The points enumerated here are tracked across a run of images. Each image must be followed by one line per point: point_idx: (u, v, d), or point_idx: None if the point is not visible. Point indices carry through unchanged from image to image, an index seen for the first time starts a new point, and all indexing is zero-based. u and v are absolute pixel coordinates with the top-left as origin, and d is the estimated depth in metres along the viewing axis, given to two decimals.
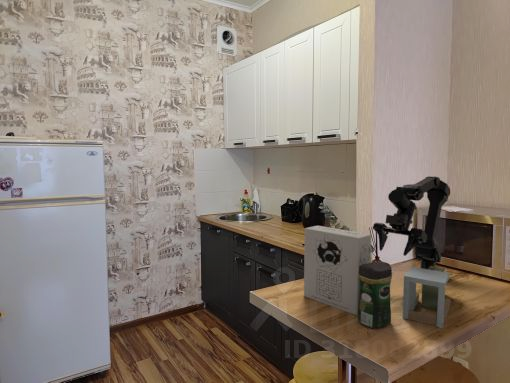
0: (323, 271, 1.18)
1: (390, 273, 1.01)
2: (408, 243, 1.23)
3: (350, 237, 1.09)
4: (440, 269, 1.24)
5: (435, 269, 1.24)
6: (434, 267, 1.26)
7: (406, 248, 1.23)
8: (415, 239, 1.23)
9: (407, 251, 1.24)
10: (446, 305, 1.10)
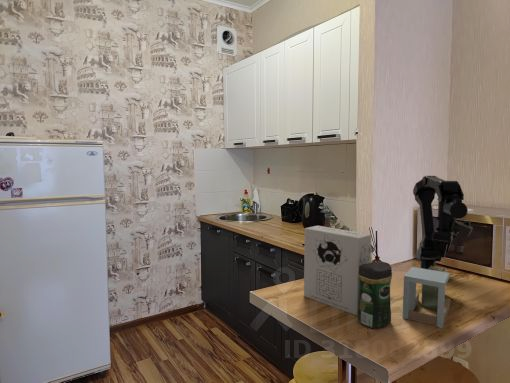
0: (323, 271, 1.18)
1: (390, 273, 1.01)
2: None
3: (350, 237, 1.09)
4: (440, 269, 1.24)
5: (435, 269, 1.24)
6: (434, 267, 1.26)
7: (449, 246, 1.34)
8: None
9: None
10: (446, 305, 1.10)
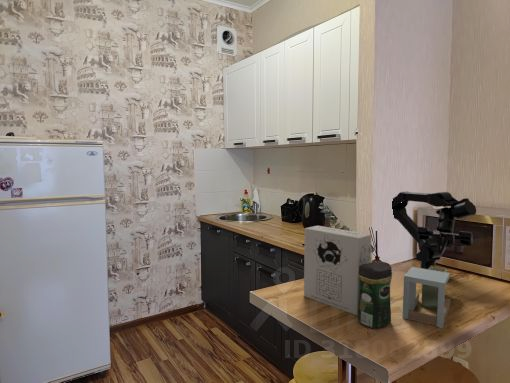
0: (323, 271, 1.18)
1: (390, 273, 1.01)
2: None
3: (350, 237, 1.09)
4: (440, 269, 1.24)
5: (435, 269, 1.24)
6: (434, 267, 1.26)
7: None
8: (435, 240, 1.35)
9: (438, 250, 1.32)
10: (446, 305, 1.10)
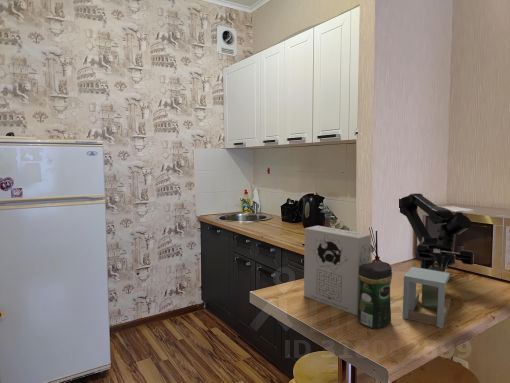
0: (323, 271, 1.18)
1: (390, 273, 1.01)
2: None
3: (350, 237, 1.09)
4: (440, 269, 1.24)
5: (435, 269, 1.24)
6: (434, 267, 1.26)
7: None
8: (435, 258, 1.32)
9: None
10: (446, 305, 1.10)
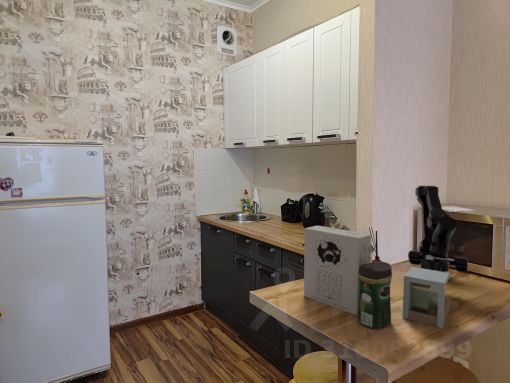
0: (323, 271, 1.18)
1: (390, 273, 1.01)
2: None
3: (350, 237, 1.09)
4: None
5: None
6: None
7: None
8: (428, 265, 1.25)
9: None
10: (446, 305, 1.10)
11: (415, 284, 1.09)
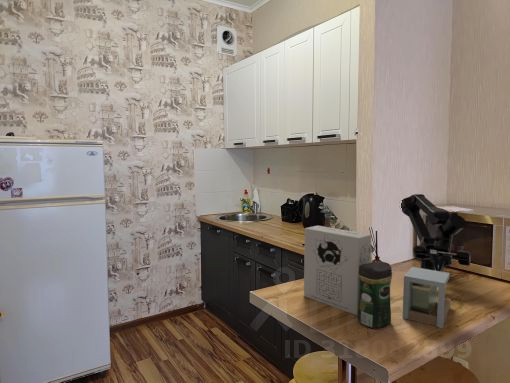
0: (323, 271, 1.18)
1: (390, 273, 1.01)
2: None
3: (350, 237, 1.09)
4: None
5: None
6: None
7: None
8: (432, 259, 1.32)
9: None
10: (446, 305, 1.10)
11: (415, 284, 1.09)
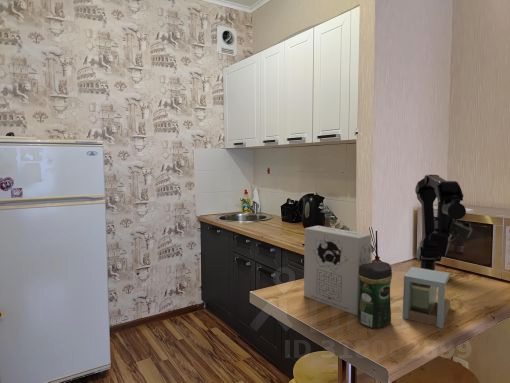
0: (323, 271, 1.18)
1: (390, 273, 1.01)
2: (448, 245, 1.29)
3: (350, 237, 1.09)
4: None
5: None
6: None
7: (447, 250, 1.29)
8: None
9: None
10: (446, 305, 1.10)
11: (415, 284, 1.09)
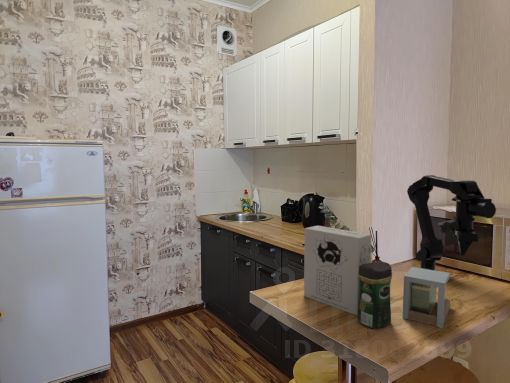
0: (323, 271, 1.18)
1: (390, 273, 1.01)
2: (459, 244, 1.30)
3: (350, 237, 1.09)
4: None
5: None
6: None
7: (460, 248, 1.31)
8: None
9: (463, 251, 1.30)
10: (446, 305, 1.10)
11: (415, 284, 1.09)
